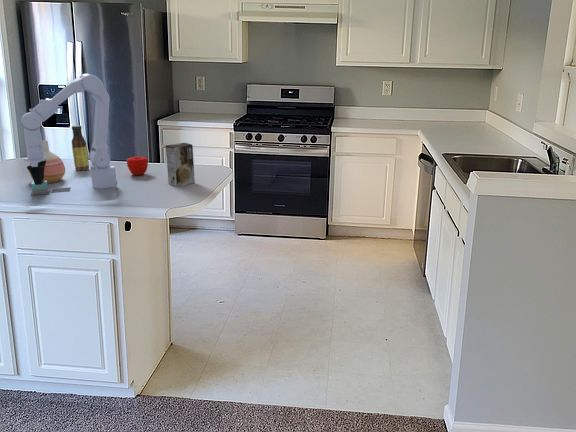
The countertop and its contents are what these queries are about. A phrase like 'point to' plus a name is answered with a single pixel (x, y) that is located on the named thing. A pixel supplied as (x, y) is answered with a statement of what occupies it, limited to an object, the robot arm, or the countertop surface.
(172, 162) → the coffee box
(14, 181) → the countertop surface
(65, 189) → the stand
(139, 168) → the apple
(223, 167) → the countertop surface
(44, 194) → the stand
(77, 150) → the sauce bottle
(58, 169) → the vase
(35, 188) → the housing
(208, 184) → the countertop surface
